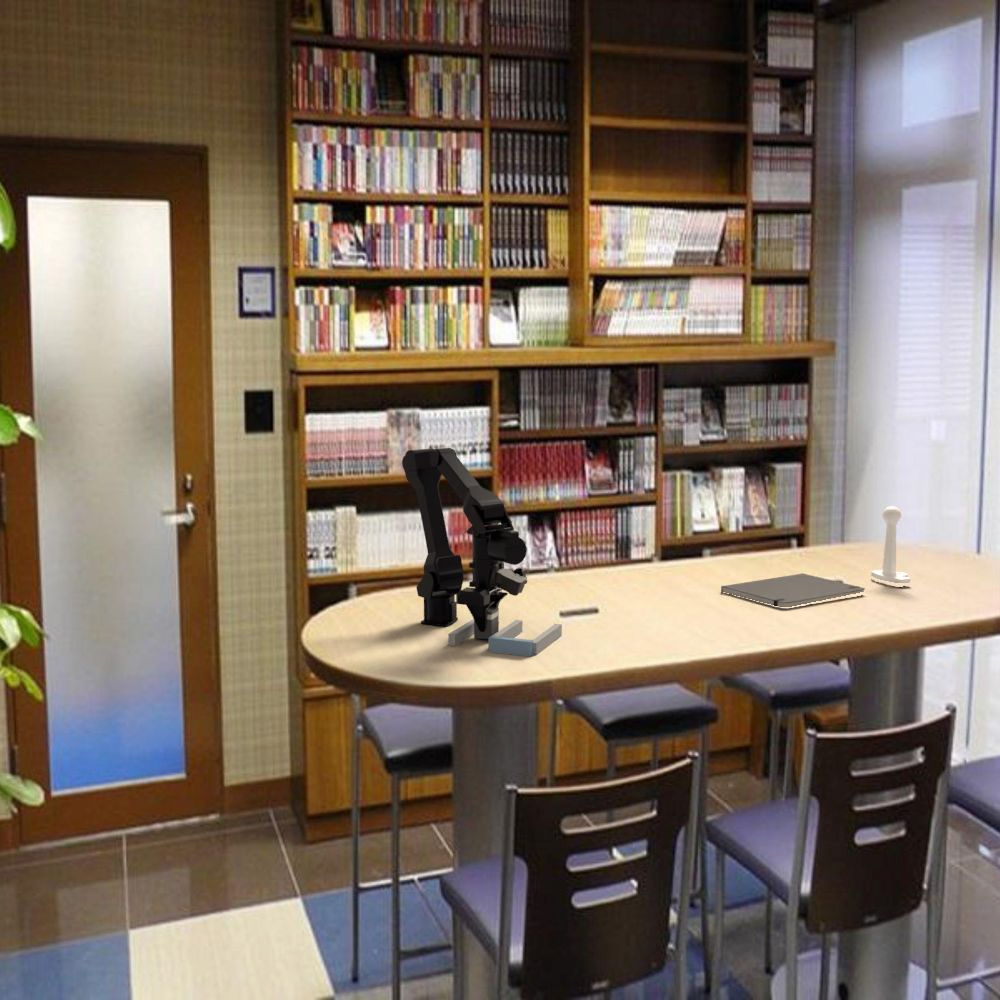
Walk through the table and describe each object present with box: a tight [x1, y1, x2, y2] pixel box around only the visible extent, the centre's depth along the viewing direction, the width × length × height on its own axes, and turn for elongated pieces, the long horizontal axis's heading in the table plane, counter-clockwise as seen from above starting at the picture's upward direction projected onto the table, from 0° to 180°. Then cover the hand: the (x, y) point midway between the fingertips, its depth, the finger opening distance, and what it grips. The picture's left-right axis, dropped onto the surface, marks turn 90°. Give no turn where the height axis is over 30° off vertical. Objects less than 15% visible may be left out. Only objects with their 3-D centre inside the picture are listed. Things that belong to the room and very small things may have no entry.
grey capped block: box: [473, 606, 500, 640], centre depth 259 cm, size 4×4×6 cm
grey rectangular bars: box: [447, 618, 563, 657], centre depth 257 cm, size 20×18×3 cm
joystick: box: [870, 505, 912, 583], centre depth 311 cm, size 11×8×20 cm
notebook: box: [720, 573, 866, 607], centre depth 300 cm, size 22×2×28 cm
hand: (486, 629), depth 259 cm, fingers closed on grey capped block, 4 cm apart
